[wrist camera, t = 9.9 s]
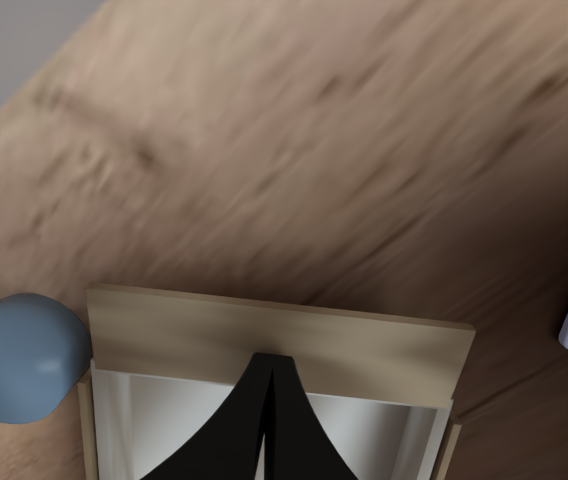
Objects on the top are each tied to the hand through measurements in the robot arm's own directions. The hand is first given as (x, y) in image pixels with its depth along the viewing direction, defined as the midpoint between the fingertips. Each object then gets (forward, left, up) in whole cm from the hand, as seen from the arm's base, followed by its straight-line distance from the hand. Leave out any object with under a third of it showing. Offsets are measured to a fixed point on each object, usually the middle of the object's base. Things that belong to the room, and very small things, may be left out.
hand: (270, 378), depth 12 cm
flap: (0, +1, -1) cm, 2 cm away
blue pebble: (+11, +3, -4) cm, 12 cm away
